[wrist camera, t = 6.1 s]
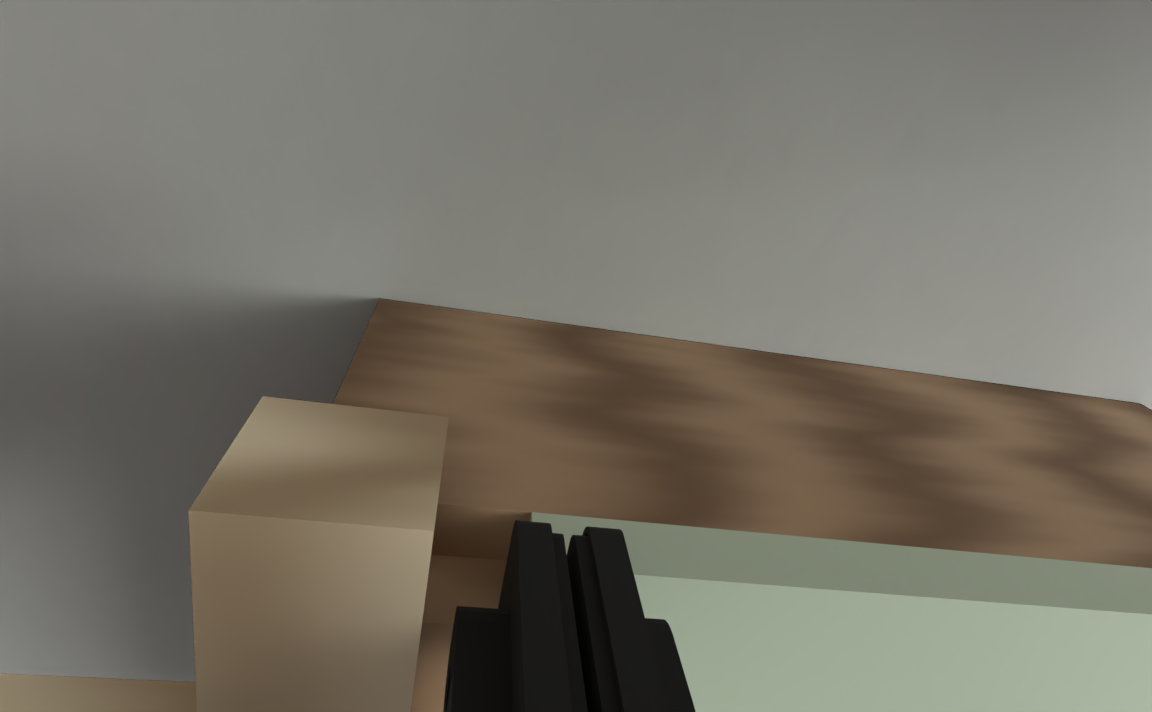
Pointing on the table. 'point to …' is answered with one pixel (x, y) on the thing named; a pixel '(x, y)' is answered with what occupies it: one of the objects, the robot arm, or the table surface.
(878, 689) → the toolbox lid
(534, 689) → the robot arm
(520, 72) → the table surface
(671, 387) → the toolbox
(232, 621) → the wooden l-shaped block
